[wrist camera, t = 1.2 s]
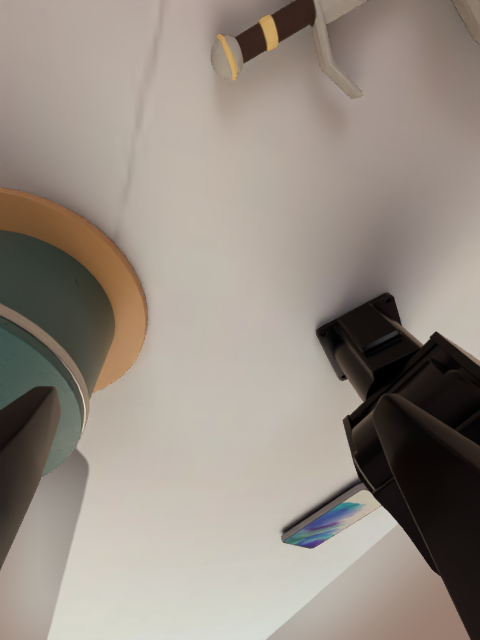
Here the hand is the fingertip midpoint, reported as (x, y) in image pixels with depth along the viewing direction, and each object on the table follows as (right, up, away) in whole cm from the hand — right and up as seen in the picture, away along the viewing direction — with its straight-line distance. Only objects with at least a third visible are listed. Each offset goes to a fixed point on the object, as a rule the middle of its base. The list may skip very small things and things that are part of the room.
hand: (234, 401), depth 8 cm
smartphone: (+13, -25, +33) cm, 43 cm away
